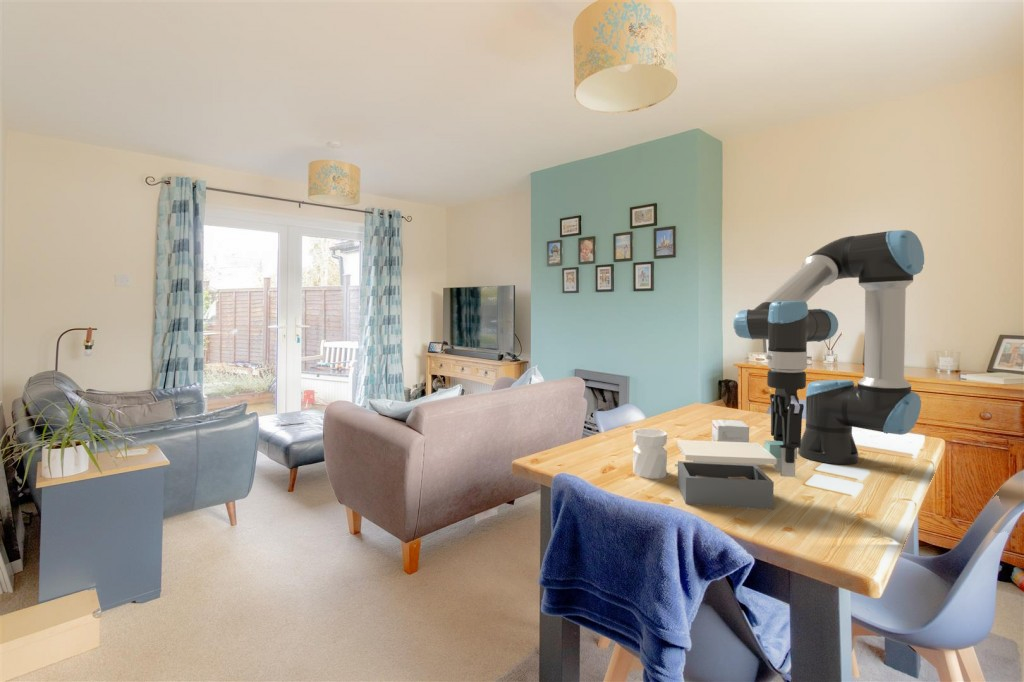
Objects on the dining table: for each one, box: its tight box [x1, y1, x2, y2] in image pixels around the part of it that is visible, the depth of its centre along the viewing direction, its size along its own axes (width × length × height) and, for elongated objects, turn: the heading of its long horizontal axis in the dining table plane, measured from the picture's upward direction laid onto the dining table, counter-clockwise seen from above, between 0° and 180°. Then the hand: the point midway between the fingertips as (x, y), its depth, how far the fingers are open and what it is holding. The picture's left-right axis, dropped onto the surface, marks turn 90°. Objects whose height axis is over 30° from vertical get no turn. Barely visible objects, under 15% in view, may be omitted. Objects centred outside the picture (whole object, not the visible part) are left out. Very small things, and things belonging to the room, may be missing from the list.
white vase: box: [632, 428, 668, 480], centre depth 128 cm, size 9×9×12 cm
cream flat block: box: [676, 439, 798, 466], centre depth 111 cm, size 24×13×4 cm, turn 79°
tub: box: [677, 460, 775, 510], centre depth 111 cm, size 18×12×7 cm, turn 79°
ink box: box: [711, 419, 750, 442], centre depth 140 cm, size 8×8×12 cm
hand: (784, 472), depth 109 cm, fingers closed on cream flat block, 3 cm apart
